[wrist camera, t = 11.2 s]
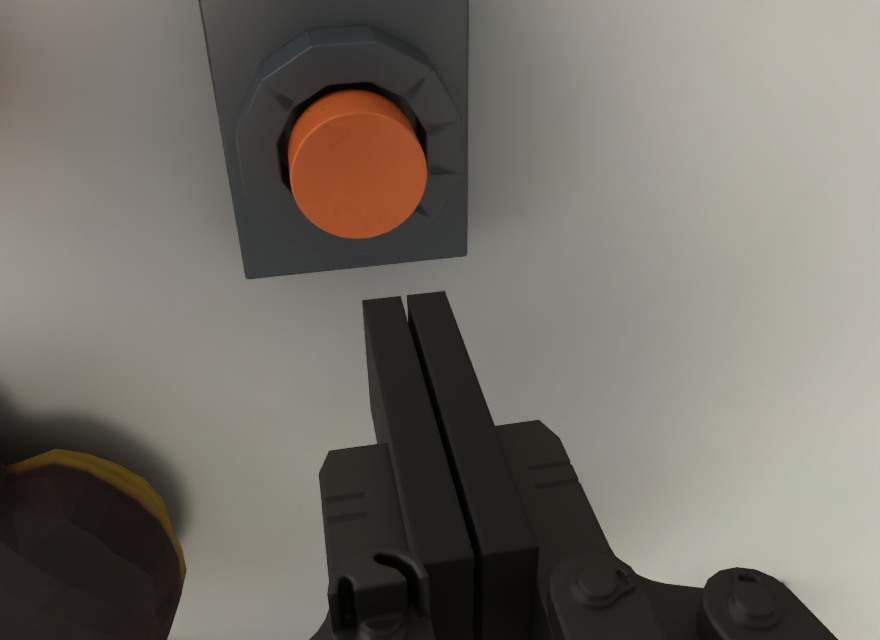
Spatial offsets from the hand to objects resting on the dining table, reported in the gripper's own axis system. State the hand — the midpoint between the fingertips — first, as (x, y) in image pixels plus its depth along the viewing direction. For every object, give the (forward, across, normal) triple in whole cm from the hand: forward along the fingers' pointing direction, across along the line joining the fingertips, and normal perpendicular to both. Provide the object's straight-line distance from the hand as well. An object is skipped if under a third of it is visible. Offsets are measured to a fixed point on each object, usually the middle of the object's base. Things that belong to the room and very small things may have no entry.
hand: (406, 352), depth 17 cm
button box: (+14, 0, 0) cm, 14 cm away
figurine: (+11, +10, +21) cm, 26 cm away
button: (+11, 0, 0) cm, 11 cm away
